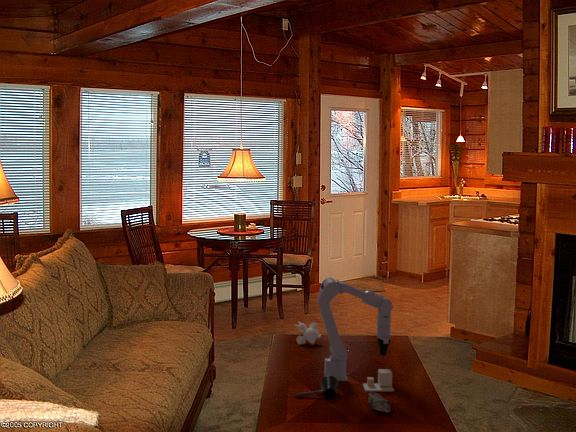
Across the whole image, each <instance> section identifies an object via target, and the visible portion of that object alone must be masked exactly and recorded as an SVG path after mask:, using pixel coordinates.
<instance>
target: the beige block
mask: <svg viewBox="0 0 576 432" xmlns="http://www.w3.org/2000/svg"><path fill="white" fill-rule="evenodd" d="M377 383H378V384H379V386H392V387H393V371H392V370H391V368H390V369H388V368H385V369H383V368H378V369H377Z"/></svg>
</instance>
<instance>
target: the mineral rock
mask: <svg viewBox="0 0 576 432" xmlns="http://www.w3.org/2000/svg"><path fill="white" fill-rule="evenodd" d="M367 395H368V396H369V397H368V403H369V404H370V408H371V410H373V411H379V412H383V413H386V414H387V413H391V411H392V410H391V409H392V406H391V403H390V402H389V401H388V400H387V399H385V397H383V396H382V395H381V394H380V393H377V392H369V393H368V394H367Z"/></svg>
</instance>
